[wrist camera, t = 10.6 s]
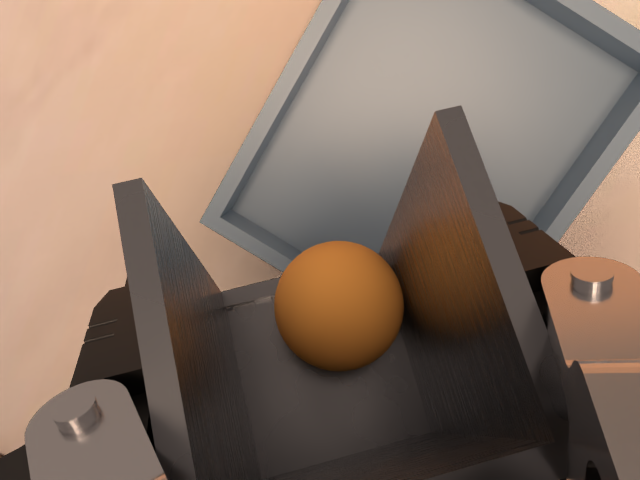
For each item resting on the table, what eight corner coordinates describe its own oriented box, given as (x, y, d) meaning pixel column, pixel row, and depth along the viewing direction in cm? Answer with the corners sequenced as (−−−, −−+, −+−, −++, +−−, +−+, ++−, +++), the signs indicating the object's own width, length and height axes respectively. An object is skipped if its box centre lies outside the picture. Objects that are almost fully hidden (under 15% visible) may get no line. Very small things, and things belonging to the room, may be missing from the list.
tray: (450, 351, 25) (458, 377, 23) (216, 211, 25) (199, 222, 22) (654, 67, 22) (689, 62, 20) (389, -100, 21) (392, -127, 19)
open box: (446, 443, 14) (599, 468, 7) (252, 498, 14) (178, 591, 6) (389, 258, 16) (461, 105, 8) (211, 302, 15) (111, 184, 8)
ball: (391, 409, 12) (396, 282, 11) (258, 388, 13) (250, 266, 12) (408, 335, 15) (414, 227, 14) (298, 321, 15) (294, 218, 14)
